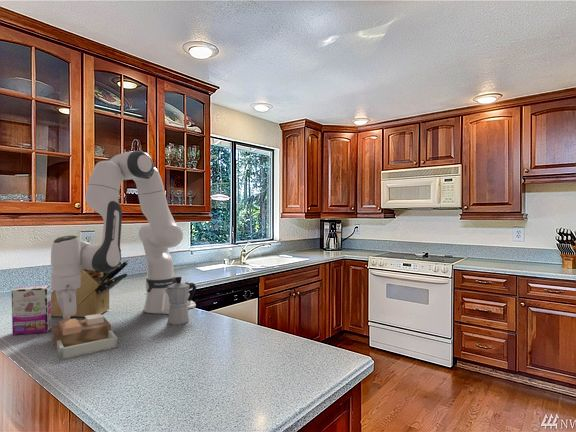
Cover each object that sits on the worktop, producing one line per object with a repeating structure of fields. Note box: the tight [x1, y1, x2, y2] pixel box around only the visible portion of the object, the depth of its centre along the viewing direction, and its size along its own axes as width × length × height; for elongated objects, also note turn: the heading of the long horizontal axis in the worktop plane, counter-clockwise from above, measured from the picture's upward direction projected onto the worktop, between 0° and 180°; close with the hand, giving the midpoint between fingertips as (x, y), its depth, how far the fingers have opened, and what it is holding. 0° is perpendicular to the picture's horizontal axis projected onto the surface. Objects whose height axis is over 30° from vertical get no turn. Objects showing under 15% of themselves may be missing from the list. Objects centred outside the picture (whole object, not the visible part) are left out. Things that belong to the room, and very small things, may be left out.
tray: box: [56, 329, 119, 361], centre depth 117 cm, size 16×9×3 cm, turn 128°
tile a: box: [84, 314, 105, 325], centre depth 128 cm, size 5×5×2 cm
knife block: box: [51, 248, 129, 318], centre depth 154 cm, size 11×35×31 cm, turn 88°
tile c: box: [61, 322, 81, 335], centre depth 119 cm, size 5×5×2 cm
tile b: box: [58, 317, 79, 330], centre depth 123 cm, size 5×5×2 cm
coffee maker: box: [165, 276, 197, 326], centre depth 146 cm, size 15×9×18 cm, turn 143°
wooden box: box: [52, 315, 112, 350], centre depth 125 cm, size 16×12×5 cm
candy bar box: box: [11, 285, 53, 336], centre depth 132 cm, size 11×5×16 cm, turn 105°
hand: (66, 322), depth 126 cm, fingers closed
